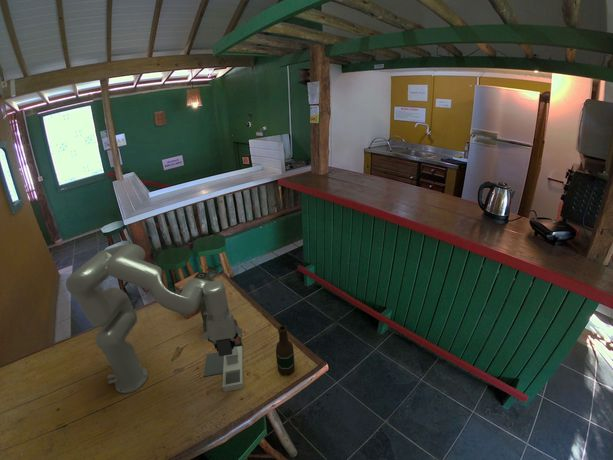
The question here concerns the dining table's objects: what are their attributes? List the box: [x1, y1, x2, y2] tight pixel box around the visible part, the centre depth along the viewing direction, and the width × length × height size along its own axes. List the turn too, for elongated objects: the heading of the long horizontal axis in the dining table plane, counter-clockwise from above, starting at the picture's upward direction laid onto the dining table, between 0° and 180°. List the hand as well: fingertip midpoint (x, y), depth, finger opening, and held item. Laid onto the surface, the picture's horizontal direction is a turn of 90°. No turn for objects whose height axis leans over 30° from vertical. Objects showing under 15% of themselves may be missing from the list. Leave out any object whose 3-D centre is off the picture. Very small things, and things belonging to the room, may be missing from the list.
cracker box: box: [174, 272, 201, 320], centre depth 169 cm, size 14×6×21 cm, turn 139°
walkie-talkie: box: [234, 319, 243, 348], centre depth 155 cm, size 9×4×20 cm
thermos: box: [194, 271, 216, 333], centre depth 150 cm, size 9×12×35 cm
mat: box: [203, 351, 224, 378], centre depth 141 cm, size 8×12×1 cm, turn 11°
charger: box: [216, 338, 233, 357], centre depth 122 cm, size 5×5×8 cm
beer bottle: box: [275, 325, 295, 376], centre depth 132 cm, size 8×8×24 cm
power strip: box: [221, 345, 244, 393], centre depth 136 cm, size 8×20×8 cm, turn 11°
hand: (225, 347), depth 123 cm, fingers closed on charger, 5 cm apart
